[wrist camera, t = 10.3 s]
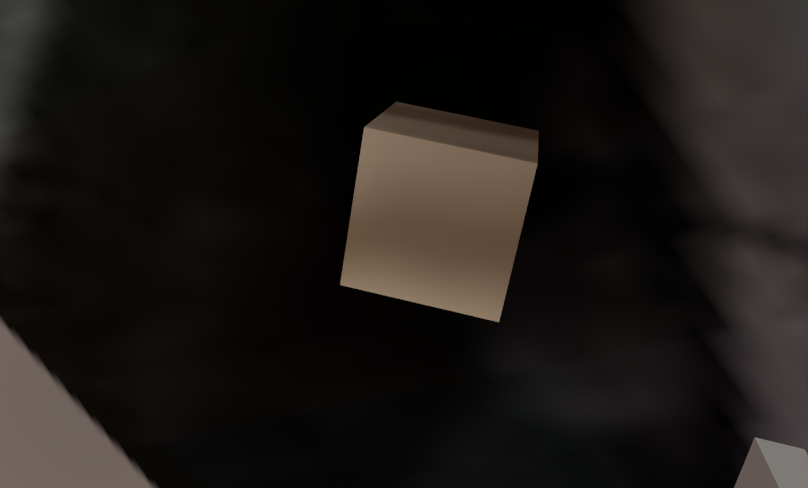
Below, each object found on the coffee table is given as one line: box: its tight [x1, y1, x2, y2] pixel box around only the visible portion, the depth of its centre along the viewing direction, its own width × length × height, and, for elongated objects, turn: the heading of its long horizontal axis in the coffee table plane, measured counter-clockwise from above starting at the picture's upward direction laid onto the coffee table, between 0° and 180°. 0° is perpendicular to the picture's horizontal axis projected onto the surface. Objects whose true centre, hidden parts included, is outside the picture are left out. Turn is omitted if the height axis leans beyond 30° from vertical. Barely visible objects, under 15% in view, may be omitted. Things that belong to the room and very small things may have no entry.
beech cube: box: [340, 102, 539, 322], centre depth 24 cm, size 5×5×5 cm
